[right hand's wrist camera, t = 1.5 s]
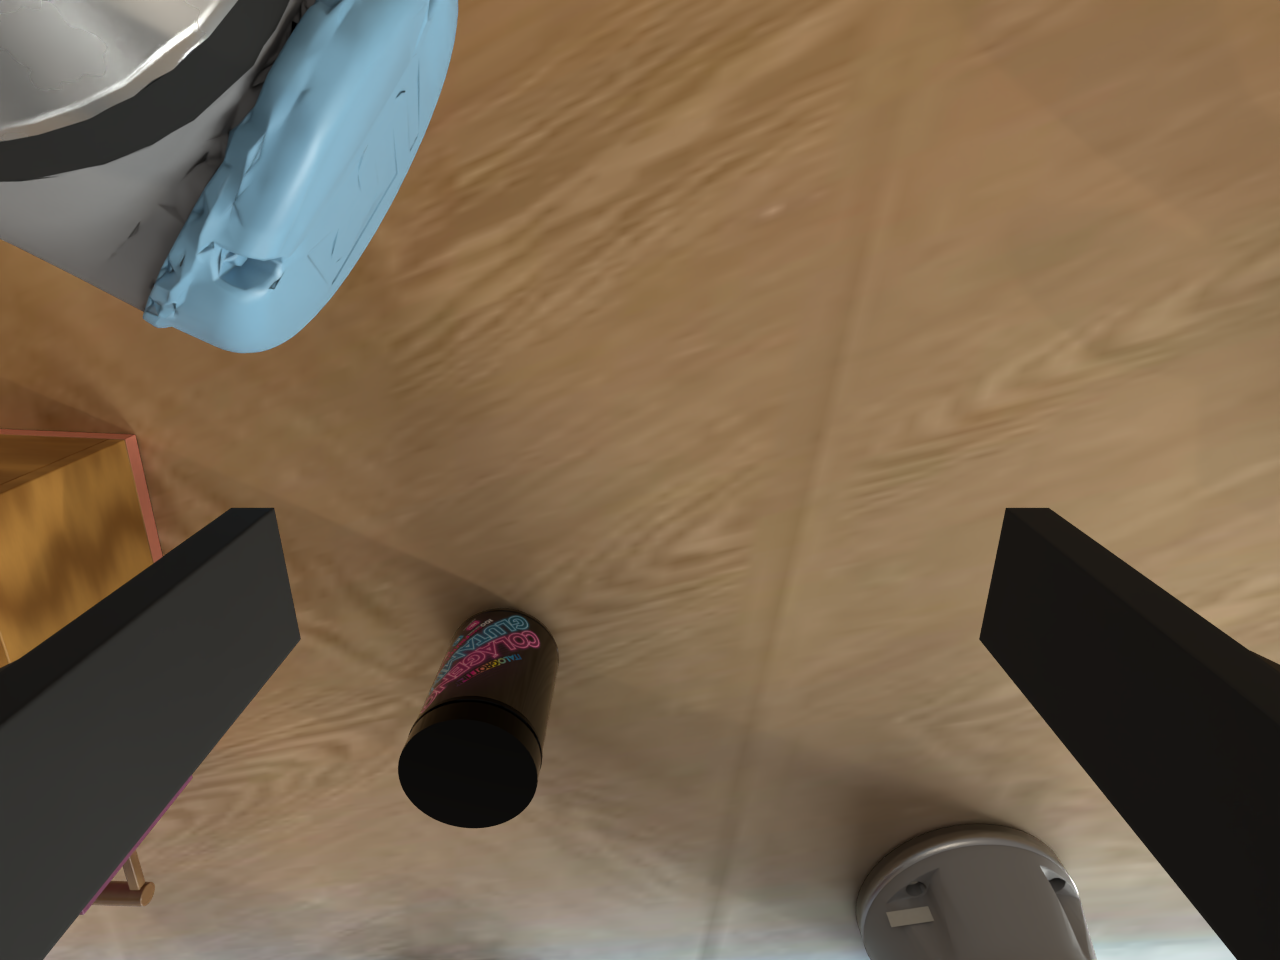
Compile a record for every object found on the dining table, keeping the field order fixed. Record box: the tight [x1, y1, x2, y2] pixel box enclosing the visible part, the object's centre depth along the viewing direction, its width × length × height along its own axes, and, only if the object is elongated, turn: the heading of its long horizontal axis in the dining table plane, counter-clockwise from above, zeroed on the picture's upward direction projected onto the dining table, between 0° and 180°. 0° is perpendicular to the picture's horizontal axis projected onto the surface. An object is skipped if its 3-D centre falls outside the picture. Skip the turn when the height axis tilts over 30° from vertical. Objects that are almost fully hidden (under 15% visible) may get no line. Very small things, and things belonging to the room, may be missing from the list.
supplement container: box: [398, 608, 559, 828], centre depth 38 cm, size 7×7×10 cm
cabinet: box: [0, 429, 163, 668], centre depth 37 cm, size 22×10×12 cm, turn 177°
